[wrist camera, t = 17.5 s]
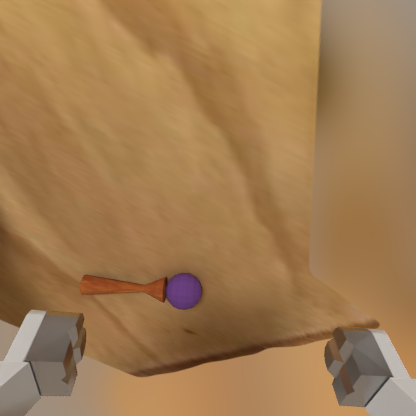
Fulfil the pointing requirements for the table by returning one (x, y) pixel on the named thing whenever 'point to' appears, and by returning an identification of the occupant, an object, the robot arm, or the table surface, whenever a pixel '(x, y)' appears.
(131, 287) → the kendama
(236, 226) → the table surface
